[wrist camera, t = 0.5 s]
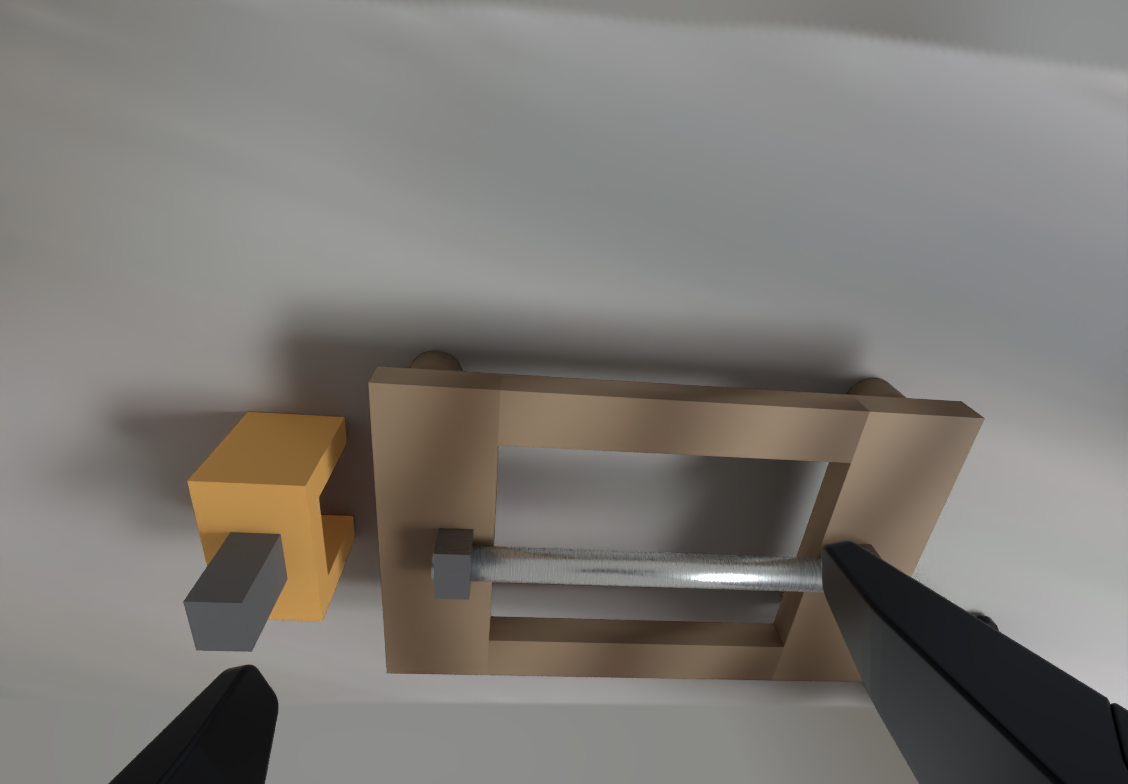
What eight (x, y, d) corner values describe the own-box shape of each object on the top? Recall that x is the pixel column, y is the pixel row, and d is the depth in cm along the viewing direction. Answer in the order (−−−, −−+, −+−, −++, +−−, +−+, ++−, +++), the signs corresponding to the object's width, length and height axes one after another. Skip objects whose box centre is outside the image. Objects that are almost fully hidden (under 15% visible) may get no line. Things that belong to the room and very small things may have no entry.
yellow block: (344, 416, 23) (268, 551, 16) (355, 538, 26) (293, 695, 19) (247, 411, 23) (130, 546, 16) (268, 534, 25) (175, 694, 19)
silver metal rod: (872, 542, 22) (892, 569, 21) (856, 582, 23) (874, 611, 22) (436, 525, 21) (430, 554, 20) (436, 569, 22) (431, 598, 21)
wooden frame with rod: (917, 369, 23) (984, 418, 20) (822, 611, 29) (862, 681, 26) (394, 335, 22) (368, 382, 18) (405, 599, 27) (386, 673, 24)
